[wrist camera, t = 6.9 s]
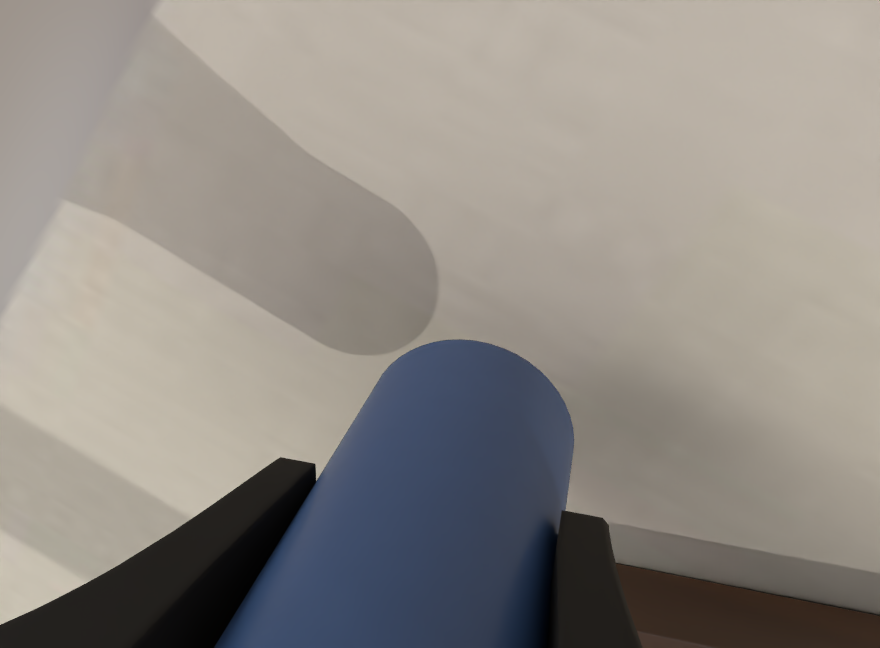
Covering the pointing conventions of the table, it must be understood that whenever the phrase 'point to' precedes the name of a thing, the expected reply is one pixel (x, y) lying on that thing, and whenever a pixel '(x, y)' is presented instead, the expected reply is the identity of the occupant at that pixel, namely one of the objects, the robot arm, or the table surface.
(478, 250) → the table surface
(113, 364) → the table surface
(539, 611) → the peg
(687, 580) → the peg board
